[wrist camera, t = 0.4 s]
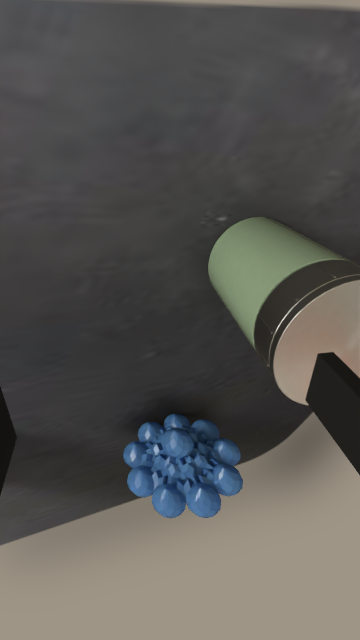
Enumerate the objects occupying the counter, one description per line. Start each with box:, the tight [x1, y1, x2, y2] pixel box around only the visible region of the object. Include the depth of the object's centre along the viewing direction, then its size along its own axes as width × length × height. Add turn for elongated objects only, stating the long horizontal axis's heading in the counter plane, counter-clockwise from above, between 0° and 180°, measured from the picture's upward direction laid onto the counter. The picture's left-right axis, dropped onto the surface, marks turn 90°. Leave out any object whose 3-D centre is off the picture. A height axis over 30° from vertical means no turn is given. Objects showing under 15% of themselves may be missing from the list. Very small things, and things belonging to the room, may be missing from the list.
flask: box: [208, 217, 349, 353], centre depth 25 cm, size 8×8×14 cm
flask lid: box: [254, 260, 360, 405], centre depth 20 cm, size 8×8×3 cm
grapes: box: [123, 414, 243, 518], centre depth 33 cm, size 12×7×12 cm, turn 98°
